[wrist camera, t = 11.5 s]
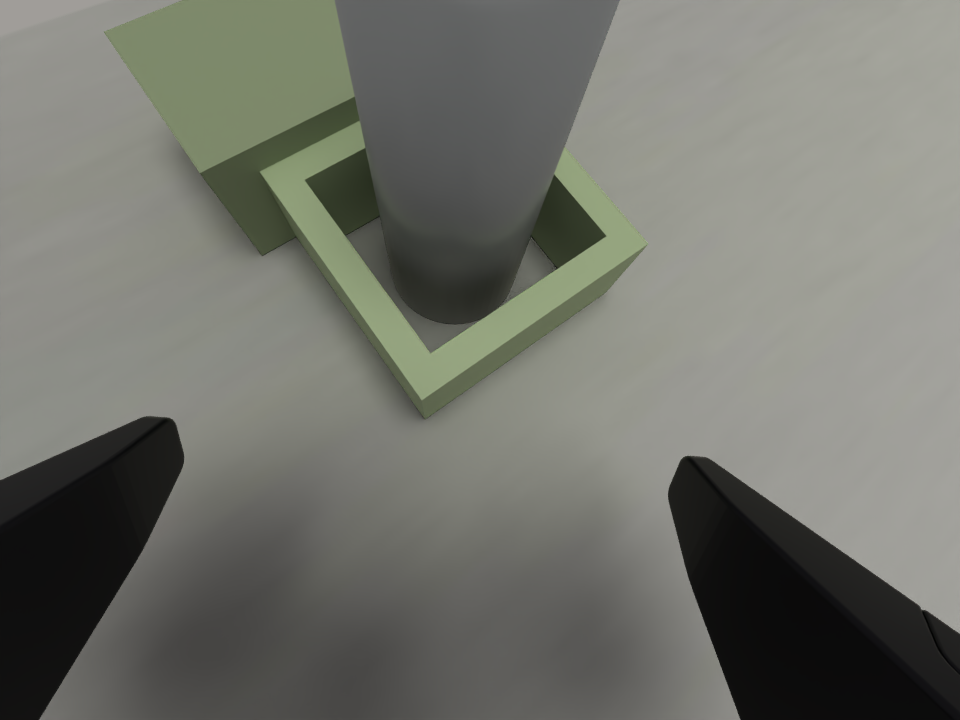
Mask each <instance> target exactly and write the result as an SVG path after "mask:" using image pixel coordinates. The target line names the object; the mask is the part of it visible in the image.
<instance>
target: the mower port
mask: <svg viewBox="0 0 960 720" xmlns="http://www.w3.org/2000/svg"><path fill="white" fill-rule="evenodd" d="M104 33H105V35H106V36H107V37H108V39H109V40H110V42H111V43H112V45H113V46H114V48H115V49H116V51H117V52H118V54H119V55H120V57H121V58H122V60H123V61H124V62H125V64H126V65H127V67H128V68H129V70H130V71H131V73H132V74H133V76H134V77H135V79H136V80H137V82H138V83H139V85H140V86H141V87H142V89H143V90H144V92H145V93H146V95H147V96H148V98H149V99H150V101H151V102H152V104H153V105H154V107H155V108H156V110H157V111H158V112H159V114H160V115H161V117H162V118H163V120H164V121H165V123H166V124H167V126H168V127H169V129H170V130H171V132H172V133H173V134H174V136H175V137H176V139H177V140H178V142H179V143H180V145H181V146H182V148H183V149H184V151H185V152H186V154H187V155H188V157H189V158H190V159H191V161H192V162H193V164H194V165H195V167H196V168H197V170H198V171H199V173H200V174H201V175H202V177H203V178H204V179H205V181H206V182H207V183H208V185H209V186H210V187H211V189H212V190H213V191H214V193H215V194H216V195H217V197H218V198H219V199H220V201H221V202H222V203H223V204H224V206H225V207H226V208H227V210H228V211H229V212H230V214H231V215H232V216H233V218H234V219H235V220H236V222H237V223H238V224H239V226H240V227H241V228H242V230H243V231H244V232H245V234H246V235H247V236H248V238H249V239H250V240H251V241H252V243H253V244H254V245H255V247H256V248H257V249H258V251H259V252H260V253H261V255H264V254H266V253H268V252H269V251H271V250H273V249H275V248H277V247H278V246H280V245H282V244H284V243H286V242H287V241H289V240H291V239H293V238H295V237H297V239H298V240H299V241H300V243H301V244H302V246H303V247H304V248H305V250H306V251H307V253H308V254H309V256H310V257H311V258H312V260H313V261H314V263H315V264H316V265H317V267H318V268H319V270H320V271H321V273H322V274H323V275H324V277H325V278H326V280H327V281H328V283H329V284H330V285H331V287H332V288H333V290H334V291H335V292H336V294H337V295H338V297H339V298H340V300H341V301H342V302H343V304H344V305H345V307H346V308H347V309H348V311H349V312H350V314H351V315H352V317H353V318H354V319H355V321H356V322H357V324H358V325H359V326H360V328H361V329H362V331H363V332H364V334H365V335H366V336H367V338H368V339H369V341H370V342H371V344H372V345H373V346H374V348H375V349H376V351H377V352H378V353H379V355H380V356H381V358H382V359H383V361H384V362H385V363H386V365H387V366H388V368H389V369H390V370H391V372H392V373H393V375H394V376H395V378H396V379H397V380H398V382H399V383H400V385H401V386H402V388H403V389H404V390H405V392H406V393H407V395H408V396H409V397H410V399H411V400H412V402H413V403H414V405H415V406H416V407H417V409H418V410H419V412H420V413H421V414H422V416H423V417H424V419H426V418H428V417H429V416H431V415H432V414H434V413H435V412H436V411H438V410H439V409H441V408H442V407H444V406H445V405H446V404H448V403H449V402H451V401H452V400H453V399H455V398H456V397H458V396H459V395H461V394H462V393H463V392H465V391H466V390H468V389H469V388H471V387H472V386H473V385H475V384H476V383H478V382H479V381H481V380H482V379H483V378H485V377H486V376H488V375H489V374H490V373H492V372H493V371H495V370H496V369H498V368H499V367H500V366H502V365H503V364H505V363H506V362H508V361H509V360H510V359H512V358H513V357H515V356H516V355H518V354H519V353H520V352H522V351H523V350H525V349H526V348H527V347H529V346H530V345H532V344H533V343H535V342H536V341H537V340H539V339H540V338H542V337H543V336H545V335H546V334H547V333H549V332H550V331H552V330H553V329H555V328H556V327H557V326H559V325H560V324H562V323H563V322H564V321H566V320H567V319H569V318H570V317H572V316H573V315H574V314H576V313H577V312H579V311H580V310H582V309H583V308H584V307H586V306H587V305H589V304H590V303H592V302H593V301H594V300H596V299H597V298H599V297H600V296H601V295H603V294H604V293H606V292H607V291H608V289H609V288H610V287H611V286H612V285H613V284H614V283H615V281H616V280H617V279H618V278H619V277H620V276H621V275H622V273H623V272H624V271H625V270H626V269H627V268H628V267H629V265H630V264H631V263H632V262H633V261H634V260H635V259H636V257H637V256H638V255H639V254H640V253H641V252H642V251H643V249H644V248H645V247H646V246H647V245H648V243H647V242H646V241H645V239H644V238H643V237H642V236H641V235H640V234H639V232H638V231H637V230H636V229H635V228H634V227H633V225H632V224H631V223H630V222H629V221H628V220H627V218H626V217H625V216H624V215H623V214H622V213H621V212H620V210H619V209H618V208H617V207H616V206H615V205H614V203H613V202H612V201H611V200H610V199H609V198H608V196H607V195H606V194H605V193H604V192H603V191H602V189H601V188H600V187H599V186H598V185H597V184H596V183H595V181H594V180H593V179H592V178H591V177H590V176H589V174H588V173H587V172H586V171H585V170H584V169H583V167H582V166H581V165H580V164H579V163H578V162H577V160H576V159H575V158H574V157H573V156H572V155H571V154H570V152H569V151H568V150H567V149H566V148H565V147H564V149H563V152H562V155H561V157H560V160H559V162H558V165H557V168H556V170H555V173H554V176H553V178H552V181H551V184H550V186H549V189H548V192H547V194H546V197H545V200H544V202H543V205H542V208H541V210H540V213H539V215H538V218H537V221H536V223H535V226H534V229H533V231H532V234H531V236H532V237H533V239H534V240H535V241H536V242H537V243H538V245H539V246H540V247H541V248H542V250H543V251H544V252H545V253H546V255H547V256H548V257H549V258H550V259H551V261H552V262H553V263H554V264H555V266H556V267H557V268H558V269H557V270H555V271H554V272H552V273H551V274H549V275H548V276H546V277H545V278H543V279H542V280H540V281H539V282H537V283H536V284H534V285H533V286H531V287H530V288H528V289H527V290H525V291H524V292H522V293H521V294H519V295H518V296H516V297H515V298H513V299H512V300H510V301H509V302H507V303H506V304H504V305H503V306H501V307H500V308H498V309H497V310H495V311H494V312H492V313H491V314H489V315H488V316H486V317H485V318H483V319H482V320H480V321H479V322H477V323H476V324H474V325H473V326H471V327H470V328H468V329H467V330H465V331H464V332H462V333H461V334H459V335H458V336H456V337H455V338H453V339H452V340H450V341H449V342H447V343H446V344H444V345H443V346H441V347H440V348H438V349H437V350H435V351H434V352H432V353H430V352H429V351H428V349H427V348H426V346H425V345H424V344H423V342H422V341H421V340H420V338H419V337H418V335H417V334H416V333H415V331H414V330H413V329H412V327H411V326H410V324H409V323H408V322H407V320H406V319H405V318H404V316H403V315H402V313H401V312H400V311H399V309H398V308H397V307H396V305H395V304H394V302H393V301H392V300H391V298H390V297H389V296H388V294H387V293H386V291H385V290H384V289H383V287H382V286H381V285H380V283H379V282H378V280H377V279H376V278H375V276H374V275H373V274H372V272H371V271H370V269H369V268H368V267H367V265H366V264H365V263H364V261H363V260H362V258H361V257H360V256H359V254H358V253H357V252H356V250H355V249H354V247H353V246H352V245H351V243H350V242H349V241H348V239H347V238H346V236H345V235H347V234H348V233H350V232H352V231H354V230H355V229H357V228H359V227H361V226H362V225H364V224H366V223H368V222H370V221H371V220H373V219H375V218H377V217H378V216H380V215H379V210H378V205H377V201H376V196H375V191H374V186H373V181H372V177H371V172H370V167H369V162H368V158H367V153H366V148H365V143H364V138H363V134H362V129H361V124H360V119H359V115H358V110H357V105H356V100H355V96H354V91H353V86H352V81H351V76H350V72H349V67H348V62H347V57H346V53H345V48H344V43H343V38H342V33H341V29H340V24H339V19H338V14H337V10H336V5H335V0H182V1H180V2H177V3H175V4H172V5H170V6H167V7H165V8H162V9H160V10H157V11H155V12H152V13H150V14H147V15H145V16H142V17H140V18H137V19H135V20H132V21H130V22H127V23H125V24H122V25H120V26H117V27H115V28H112V29H110V30H107V31H105V32H104Z"/></svg>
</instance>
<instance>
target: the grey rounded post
mask: <svg viewBox="0 0 960 720" xmlns="http://www.w3.org/2000/svg"><path fill="white" fill-rule="evenodd" d="M619 1H620V0H335V5H336V10H337V14H338V19H339V24H340V29H341V33H342V38H343V43H344V48H345V53H346V57H347V62H348V67H349V72H350V76H351V81H352V86H353V91H354V96H355V100H356V105H357V110H358V115H359V119H360V124H361V129H362V134H363V138H364V143H365V148H366V153H367V158H368V162H369V167H370V172H371V177H372V181H373V186H374V191H375V196H376V201H377V205H378V210H379V215H380V220H381V224H382V229H383V234H384V239H385V243H386V248H387V253H388V258H389V263H390V267H391V272H392V277H393V281H394V284H395V287H396V289H397V291H398V293H399V294H400V296H401V297H402V299H403V300H404V301H405V302H406V303H407V304H408V306H409V307H411V308H412V309H413V310H414V311H415V312H417V313H419V314H420V315H422V316H424V317H426V318H428V319H430V320H433V321H436V322H441V323H446V324H464V323H469V322H473V321H476V320H479V319H481V318H483V317H485V316H487V315H489V314H490V313H492V312H493V311H494V310H496V309H497V308H498V307H499V306H500V305H501V304H502V303H503V301H504V300H505V298H506V297H507V295H508V294H509V291H510V289H511V287H512V284H513V282H514V279H515V276H516V274H517V271H518V268H519V266H520V263H521V261H522V258H523V255H524V253H525V250H526V247H527V245H528V242H529V239H530V237H531V234H532V231H533V229H534V226H535V223H536V221H537V218H538V215H539V213H540V210H541V208H542V205H543V202H544V200H545V197H546V194H547V192H548V189H549V186H550V184H551V181H552V178H553V176H554V173H555V170H556V168H557V165H558V162H559V160H560V157H561V155H562V152H563V149H564V147H565V144H566V141H567V139H568V136H569V133H570V131H571V128H572V125H573V123H574V120H575V117H576V115H577V112H578V109H579V107H580V104H581V102H582V99H583V96H584V94H585V91H586V88H587V86H588V83H589V80H590V78H591V75H592V72H593V70H594V67H595V64H596V62H597V59H598V56H599V54H600V51H601V49H602V46H603V43H604V41H605V38H606V35H607V33H608V30H609V27H610V25H611V22H612V19H613V17H614V14H615V11H616V9H617V6H618V3H619Z"/></svg>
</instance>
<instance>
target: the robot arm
mask: <svg viewBox="0 0 960 720" xmlns="http://www.w3.org/2000/svg"><path fill="white" fill-rule="evenodd" d="M183 464H184V452H183V449H182V445H181V441H180V437H179V434H178V430H177V426H176V423H175V422H174V421H173V420H172V419H170V418H167V417H154V416H146V417H142V418H140V419H137V420H135V421H133V422H131V423H128V424H126V425H124V426H122V427H119V428H117V429H115V430H113V431H110V432H108V433H106V434H104V435H101V436H99V437H97V438H95V439H92V440H90V441H88V442H86V443H83V444H81V445H79V446H77V447H74V448H72V449H70V450H68V451H65V452H63V453H61V454H59V455H56V456H54V457H52V458H50V459H47V460H45V461H43V462H40V463H38V464H36V465H34V466H31V467H29V468H27V469H25V470H22V471H20V472H18V473H16V474H13V475H11V476H9V477H7V478H4V479H2V480H0V720H39V719H40V717H41V716H42V714H43V712H44V711H45V709H46V707H47V706H48V704H49V702H50V701H51V699H52V698H53V696H54V694H55V693H56V691H57V689H58V688H59V686H60V685H61V683H62V681H63V680H64V678H65V676H66V675H67V673H68V672H69V670H70V668H71V667H72V665H73V663H74V662H75V660H76V658H77V657H78V655H79V654H80V652H81V650H82V649H83V647H84V645H85V644H86V642H87V641H88V639H89V637H90V636H91V634H92V632H93V631H94V629H95V628H96V626H97V624H98V623H99V621H100V619H101V618H102V616H103V614H104V613H105V611H106V610H107V608H108V606H109V605H110V603H111V601H112V600H113V598H114V597H115V595H116V593H117V592H118V590H119V588H120V587H121V585H122V584H123V582H124V580H125V579H126V577H127V575H128V574H129V572H130V570H131V569H132V567H133V566H134V564H135V562H136V561H137V559H138V557H139V555H140V554H141V552H142V550H143V548H144V546H145V545H146V543H147V541H148V539H149V537H150V535H151V533H152V531H153V528H154V526H155V524H156V522H157V520H158V518H159V516H160V514H161V512H162V510H163V508H164V505H165V503H166V501H167V499H168V497H169V495H170V493H171V491H172V489H173V487H174V485H175V482H176V480H177V478H178V476H179V474H180V472H181V470H182V467H183ZM668 500H669V505H670V508H671V512H672V516H673V520H674V524H675V528H676V532H677V536H678V540H679V544H680V548H681V551H682V555H683V559H684V563H685V567H686V570H687V574H688V577H689V581H690V584H691V586H692V589H693V592H694V595H695V598H696V600H697V603H698V606H699V609H700V611H701V614H702V617H703V619H704V622H705V625H706V627H707V630H708V633H709V636H710V638H711V641H712V644H713V646H714V649H715V652H716V655H717V657H718V660H719V663H720V665H721V668H722V671H723V673H724V676H725V679H726V682H727V684H728V687H729V690H730V692H731V695H732V698H733V701H734V703H735V706H736V709H737V711H738V714H739V717H740V719H741V720H960V634H959V633H958V632H956V631H955V630H953V629H952V628H950V627H949V626H948V625H946V624H945V623H943V622H942V621H941V620H939V619H938V618H936V617H935V616H933V615H932V614H931V613H929V612H928V611H926V610H921V608H920V606H919V605H918V604H916V603H915V602H913V601H912V600H910V599H909V598H908V597H906V596H905V595H903V594H902V593H900V592H899V591H898V590H896V589H895V588H893V587H892V586H890V585H889V584H888V583H886V582H885V581H883V580H882V579H880V578H879V577H878V576H876V575H875V574H873V573H872V572H870V571H869V570H868V569H866V568H865V567H863V566H862V565H860V564H859V563H858V562H856V561H855V560H853V559H852V558H850V557H849V556H848V555H846V554H845V553H843V552H842V551H840V550H839V549H838V548H836V547H835V546H833V545H832V544H830V543H829V542H828V541H826V540H825V539H823V538H822V537H820V536H819V535H818V534H816V533H815V532H813V531H812V530H810V529H809V528H808V527H806V526H805V525H803V524H802V523H800V522H799V521H798V520H796V519H795V518H793V517H792V516H790V515H789V514H788V513H786V512H785V511H783V510H782V509H780V508H779V507H778V506H776V505H775V504H773V503H772V502H770V501H769V500H768V499H766V498H765V497H763V496H762V495H760V494H759V493H758V492H756V491H755V490H753V489H752V488H750V487H749V486H748V485H746V484H745V483H743V482H742V481H740V480H739V479H738V478H736V477H735V476H733V475H732V474H730V473H729V472H728V471H726V470H725V469H723V468H722V467H720V466H719V465H718V464H716V463H715V462H713V461H712V460H710V459H709V458H706V457H698V456H685V457H683V458H682V459H681V461H680V463H679V465H678V468H677V470H676V472H675V475H674V477H673V479H672V482H671V484H670V487H669V491H668Z"/></svg>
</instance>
